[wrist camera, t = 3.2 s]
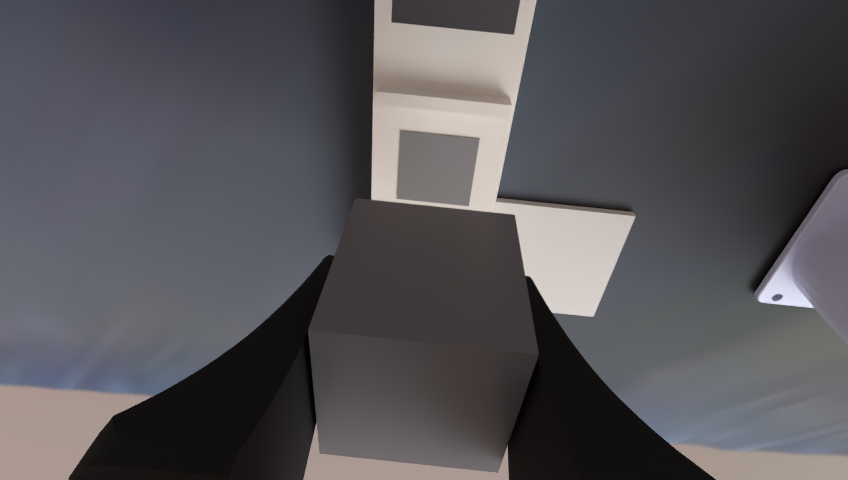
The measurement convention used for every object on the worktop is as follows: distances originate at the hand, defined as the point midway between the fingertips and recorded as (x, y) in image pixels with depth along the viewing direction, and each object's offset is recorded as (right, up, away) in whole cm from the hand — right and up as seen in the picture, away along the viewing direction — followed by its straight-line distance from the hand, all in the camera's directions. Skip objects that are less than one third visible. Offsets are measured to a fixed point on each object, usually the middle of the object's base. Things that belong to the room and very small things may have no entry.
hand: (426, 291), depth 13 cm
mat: (+7, 0, +12) cm, 14 cm away
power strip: (+1, +8, +7) cm, 10 cm away
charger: (0, +1, +1) cm, 1 cm away
